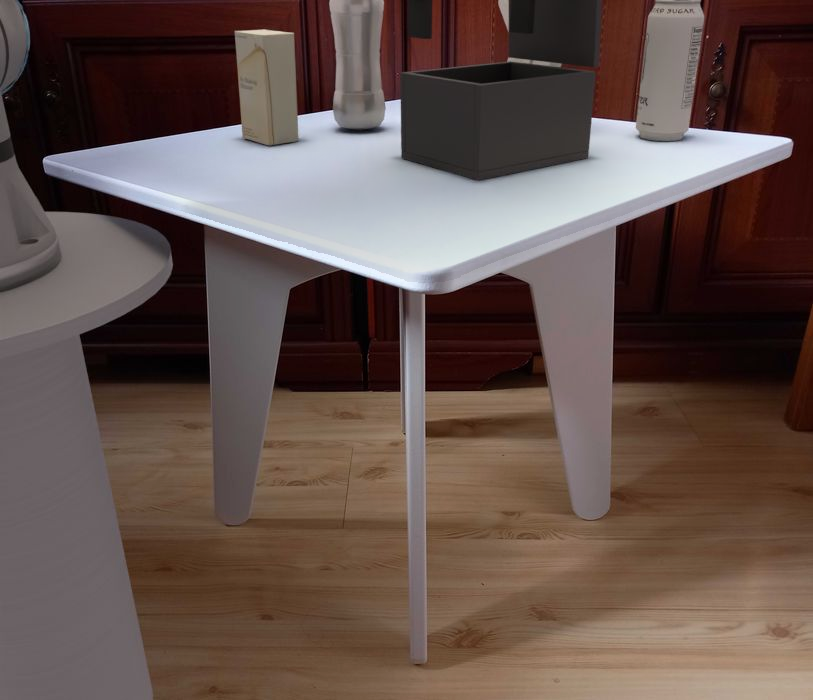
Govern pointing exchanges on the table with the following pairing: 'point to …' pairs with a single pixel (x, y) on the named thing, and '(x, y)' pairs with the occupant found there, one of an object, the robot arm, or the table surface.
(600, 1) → the box lid
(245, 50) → the cosmetic box
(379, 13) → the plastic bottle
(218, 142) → the table surface
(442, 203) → the table surface
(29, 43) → the robot arm
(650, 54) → the energy drink can
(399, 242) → the table surface
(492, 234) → the table surface
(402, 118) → the open lidded box
